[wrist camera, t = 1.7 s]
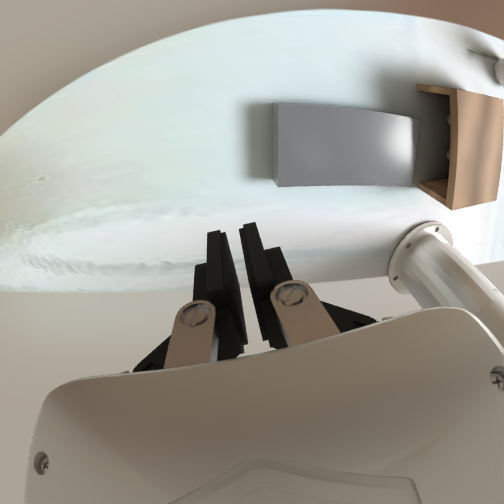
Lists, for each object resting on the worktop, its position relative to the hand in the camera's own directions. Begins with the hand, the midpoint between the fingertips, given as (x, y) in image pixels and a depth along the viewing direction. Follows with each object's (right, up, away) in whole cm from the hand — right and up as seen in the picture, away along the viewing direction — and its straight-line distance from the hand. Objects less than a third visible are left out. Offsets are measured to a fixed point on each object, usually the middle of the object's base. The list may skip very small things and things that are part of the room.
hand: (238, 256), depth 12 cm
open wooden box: (+26, +15, +15) cm, 33 cm away
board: (+10, +12, +15) cm, 22 cm away
